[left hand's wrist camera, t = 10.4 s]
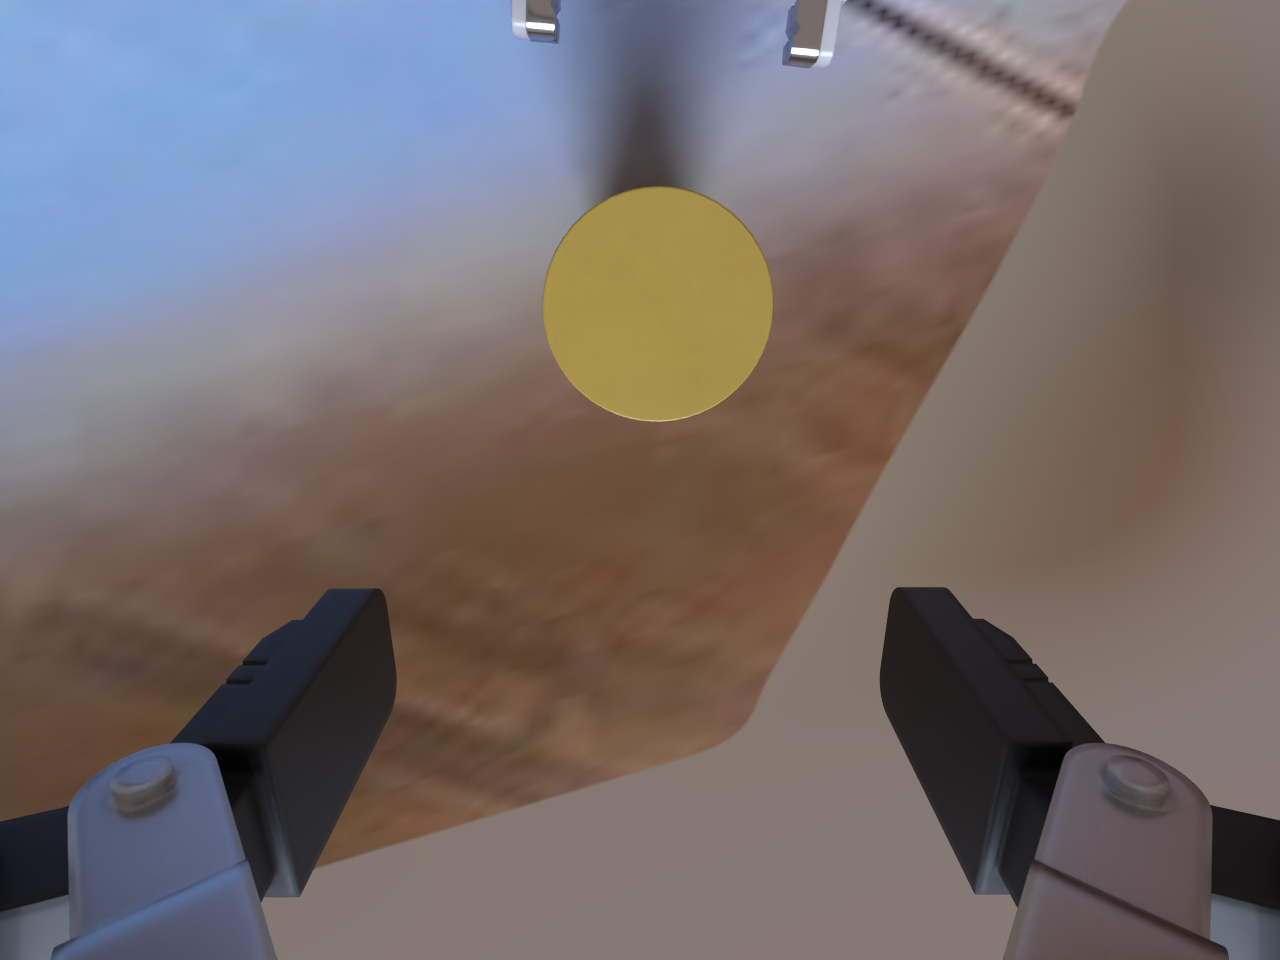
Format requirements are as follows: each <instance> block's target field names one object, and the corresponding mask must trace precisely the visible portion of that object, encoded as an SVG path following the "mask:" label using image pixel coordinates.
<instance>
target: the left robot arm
mask: <svg viewBox="0 0 1280 960" xmlns="http://www.w3.org/2000/svg"><path fill="white" fill-rule="evenodd" d="M396 682H397V679H396V667H395V660H394V653H393V646H392V639H391V632H390V625H389V618H388V611H387V604H386V599H385V596H384V594H383V592H382V591H381V590H380V589H329V590H327V591H326V592H325V594H324V595H323V596H322V597H321V598H320V600H319V601H318V602H317V603H316V604H315V606H314V607H313V608H312V609H311V611H310V612H309V613H308V614H307V615H306V617H305V618H304V619H303V620H292V621H290V622H289V623H287V624H286V625H284V626H282V627H281V628H279V629H278V630H276V631H274V632H273V633H271V634H270V635H268V636H266V637H265V638H263V639H262V640H261V641H260V642H259V643H258V644H257V646H256V647H255V648H254V649H253V650H252V651H251V652H250V654H249V655H248V656H247V657H246V658H245V659H244V660H243V665H239V666H238V667H237V668H236V669H235V671H234V672H233V673H232V674H231V675H230V676H229V677H228V678H227V682H226V684H222V685H221V686H220V687H219V689H218V690H217V691H216V692H215V693H214V694H213V695H212V697H211V698H210V699H209V700H208V701H207V702H206V703H205V704H204V706H203V707H202V708H201V709H200V710H199V711H198V712H197V714H196V715H195V716H194V717H193V718H192V719H191V720H190V721H189V723H188V724H187V725H186V726H185V727H184V728H183V729H182V730H181V732H180V733H179V734H178V735H177V736H176V737H175V738H174V740H173V741H172V742H171V743H170V744H165V745H160V746H156V747H152V748H148V749H145V750H142V751H139V752H137V753H134V754H132V755H129V756H127V757H125V758H123V759H121V760H119V761H117V762H115V763H113V764H112V765H110V766H108V767H107V768H105V769H104V770H102V771H101V772H99V773H98V774H96V775H95V776H94V777H93V778H92V779H90V780H89V781H88V782H87V783H86V784H85V785H84V786H83V787H82V788H81V789H80V790H79V791H78V792H77V794H76V795H75V797H74V798H73V800H72V802H71V804H70V806H67V807H63V808H59V809H55V810H50V811H46V812H41V813H37V814H32V815H28V816H23V817H19V818H14V819H10V820H5V821H1V822H0V960H277V957H276V953H275V950H274V947H273V943H272V940H271V936H270V933H269V930H268V926H267V923H266V919H265V916H264V913H263V909H262V906H261V901H262V900H263V898H264V897H300V895H301V893H302V891H303V889H304V887H305V885H306V883H307V881H308V879H309V877H310V875H311V873H312V871H313V869H314V867H315V865H316V863H317V861H318V859H319V857H320V855H321V853H322V851H323V849H324V847H325V845H326V843H327V841H328V839H329V837H330V835H331V833H332V831H333V829H334V827H335V825H336V823H337V821H338V819H339V817H340V815H341V813H342V811H343V809H344V807H345V805H346V803H347V801H348V799H349V797H350V795H351V793H352V791H353V789H354V787H355V785H356V783H357V781H358V779H359V776H360V774H361V772H362V770H363V768H364V766H365V764H366V762H367V760H368V758H369V756H370V754H371V752H372V750H373V748H374V746H375V744H376V742H377V740H378V738H379V736H380V734H381V732H382V730H383V728H384V726H385V724H386V722H387V720H388V718H389V716H390V714H391V711H392V708H393V705H394V700H395V695H396ZM880 691H881V697H882V702H883V706H884V709H885V712H886V714H887V716H888V718H889V720H890V722H891V724H892V726H893V728H894V730H895V732H896V735H897V737H898V739H899V741H900V743H901V745H902V747H903V749H904V751H905V753H906V755H907V757H908V759H909V761H910V763H911V765H912V767H913V769H914V771H915V773H916V775H917V777H918V779H919V781H920V783H921V785H922V788H923V790H924V791H925V794H926V796H927V798H928V800H929V802H930V804H931V806H932V808H933V810H934V812H935V814H936V816H937V818H938V820H939V822H940V824H941V826H942V828H943V830H944V832H945V834H946V836H947V838H948V841H949V843H950V845H951V847H952V849H953V851H954V853H955V855H956V857H957V859H958V861H959V863H960V865H961V867H962V869H963V871H964V873H965V875H966V877H967V879H968V881H969V883H970V885H971V887H972V889H973V891H974V893H975V894H1010V895H1011V897H1012V899H1013V900H1014V902H1015V904H1016V906H1017V908H1018V909H1017V913H1016V916H1015V919H1014V923H1013V926H1012V930H1011V933H1010V936H1009V940H1008V943H1007V947H1006V950H1005V953H1004V957H1003V960H1280V820H1275V819H1271V818H1266V817H1262V816H1257V815H1253V814H1248V813H1244V812H1239V811H1234V810H1230V809H1226V808H1221V807H1216V806H1212V805H1210V804H1209V802H1208V800H1207V798H1206V797H1205V795H1204V794H1203V792H1202V791H1201V790H1200V789H1199V788H1198V787H1197V786H1196V785H1195V784H1194V783H1193V782H1192V781H1191V780H1190V779H1188V778H1187V777H1186V776H1185V775H1183V774H1182V773H1181V772H1179V771H1178V770H1176V769H1175V768H1173V767H1172V766H1170V765H1168V764H1167V763H1165V762H1163V761H1161V760H1159V759H1157V758H1155V757H1153V756H1151V755H1148V754H1146V753H1143V752H1141V751H1138V750H1135V749H1131V748H1128V747H1124V746H1120V745H1115V744H1108V743H1105V742H1104V741H1103V740H1102V739H1101V737H1100V736H1099V735H1098V734H1097V733H1096V732H1095V731H1094V729H1093V728H1092V727H1091V726H1090V725H1089V724H1088V723H1087V722H1086V720H1085V719H1084V718H1083V717H1082V716H1081V715H1080V714H1079V712H1078V711H1077V710H1076V709H1075V708H1074V707H1073V706H1072V704H1071V703H1070V702H1069V701H1068V700H1067V699H1066V698H1065V696H1064V695H1063V694H1062V693H1061V692H1060V691H1059V690H1058V688H1057V687H1056V686H1055V685H1054V684H1053V683H1049V681H1048V677H1047V676H1046V675H1045V674H1044V672H1043V671H1042V670H1041V669H1040V668H1039V667H1038V666H1037V664H1033V663H1032V659H1031V658H1030V656H1029V655H1028V654H1027V653H1026V652H1025V651H1024V650H1023V648H1022V647H1021V646H1020V645H1019V644H1018V643H1017V642H1016V640H1015V639H1014V638H1013V637H1011V636H1010V635H1008V634H1006V633H1005V632H1003V631H1002V630H1000V629H999V628H997V627H995V626H994V625H992V624H990V623H989V622H987V621H986V620H984V619H973V618H972V617H971V616H970V615H969V613H968V612H967V611H966V610H965V609H964V607H963V606H962V605H961V604H960V603H959V601H958V600H957V599H956V598H955V596H954V595H953V594H952V593H951V591H950V590H948V589H947V588H944V587H898V588H896V589H895V590H894V591H893V593H892V595H891V599H890V604H889V611H888V618H887V625H886V632H885V640H884V647H883V654H882V661H881V668H880Z"/></svg>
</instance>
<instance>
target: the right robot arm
mask: <svg viewBox="0 0 1280 960" xmlns="http://www.w3.org/2000/svg"><path fill="white" fill-rule="evenodd" d="M846 1H847V0H797V1H796V2H795V6H792V7H791V8H790V10H789V11H788V18H787V25H786V34H787V37H788V39H789V41H788V42H787V43H786V44H785V46H784V48H783V56H782V64H783V65H785V66H794V67H802V68H809V69H824V68H825V67H827V66H828V65H829V64H830V63H831V60H832V58H833V54H834V51H835V46H836V39H837V33H838V27H839V20H840V14H841V7H842V5H843V4H844V3H845V2H846ZM560 9H561V0H511V24H512V32H513V35H514V36H515V37H516V39H517V40H522V41H531V42H544V43H557V44H558V42H559V34H560V24H559V21H558V19H557V14H558V13H559V11H560Z"/></svg>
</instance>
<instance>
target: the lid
mask: <svg viewBox="0 0 1280 960" xmlns="http://www.w3.org/2000/svg"><path fill="white" fill-rule="evenodd" d="M772 316H773V289H772V282H771V276H770V273H769V269H768V265H767V262H766V260H765V258H764V255H763V253H762V251H761V248H760V247H759V245H758V243H757V242H756V240H755V238H754V237H753V235H752V234H751V232H750V231H749V230H748V229H747V227H746V226H745V225H744V224H743V223H742V222H741V221H740V220H739V219H738V218H737V217H736V216H735V215H734V214H733V213H732V212H731V211H729V210H728V209H727V208H725V207H724V206H722V205H721V204H720V203H718V202H716V201H714V200H712V199H711V198H709V197H707V196H705V195H702V194H699V193H697V192H694V191H691V190H687V189H682V188H677V187H669V186H650V187H640V188H636V189H632V190H627V191H624V192H622V193H619V194H616V195H614V196H611V197H609V198H608V199H606V200H604V201H602V202H600V203H598V204H597V205H595V206H594V207H593V208H591V209H590V210H589V211H587V212H586V213H585V214H584V215H583V216H582V217H580V218H579V219H578V220H577V221H576V222H575V223H574V224H573V225H572V227H571V228H570V229H569V231H568V232H567V233H566V234H565V236H564V237H563V239H562V240H561V242H560V244H559V245H558V247H557V249H556V251H555V253H554V255H553V258H552V260H551V262H550V265H549V268H548V271H547V275H546V279H545V284H544V291H543V318H544V327H545V331H546V335H547V339H548V342H549V345H550V347H551V350H552V352H553V355H554V357H555V359H556V361H557V362H558V364H559V366H560V368H561V369H562V371H563V372H564V374H565V375H566V376H567V378H568V379H569V380H570V382H571V383H572V384H573V385H574V386H575V387H576V388H577V389H578V390H579V391H580V392H581V393H582V394H584V395H585V396H586V397H587V398H589V399H590V400H591V401H593V402H594V403H596V404H597V405H599V406H601V407H602V408H604V409H606V410H608V411H611V412H613V413H615V414H617V415H621V416H624V417H627V418H630V419H636V420H642V421H655V422H660V421H673V420H678V419H683V418H687V417H690V416H693V415H696V414H699V413H701V412H703V411H705V410H708V409H710V408H712V407H714V406H715V405H717V404H718V403H720V402H721V401H723V400H724V399H726V398H727V397H728V396H729V395H730V394H732V393H733V392H734V391H735V390H736V389H737V388H738V387H739V386H740V385H741V384H742V383H743V382H744V381H745V380H746V379H747V377H748V376H749V374H750V373H751V372H752V370H753V369H754V367H755V366H756V364H757V362H758V360H759V358H760V357H761V355H762V353H763V350H764V348H765V345H766V343H767V340H768V336H769V332H770V328H771V324H772Z"/></svg>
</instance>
